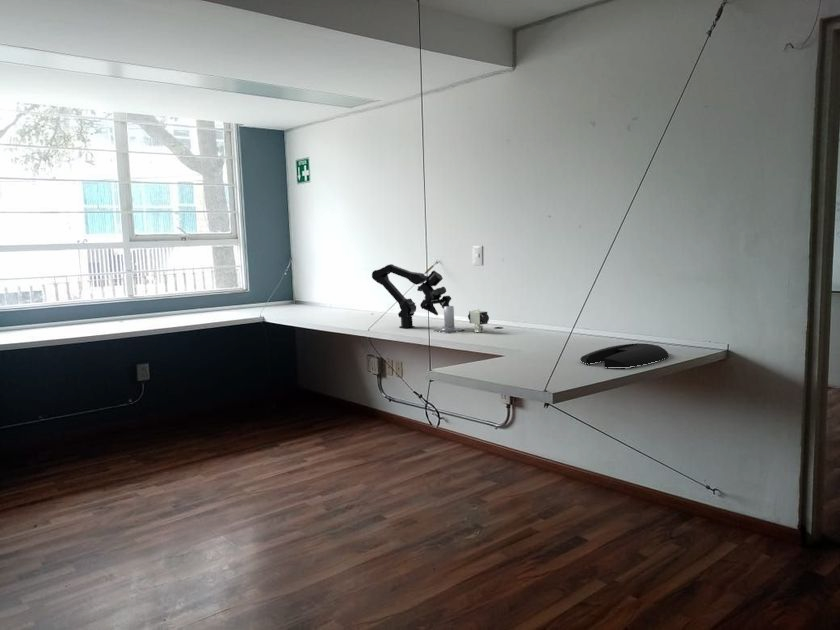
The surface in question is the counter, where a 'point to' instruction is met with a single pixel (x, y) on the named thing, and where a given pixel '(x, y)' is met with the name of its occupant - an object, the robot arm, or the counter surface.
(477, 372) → the counter surface
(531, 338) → the counter surface
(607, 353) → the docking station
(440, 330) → the flange plate
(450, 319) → the grey cylinder
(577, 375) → the counter surface
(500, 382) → the counter surface
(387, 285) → the robot arm
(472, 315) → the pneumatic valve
